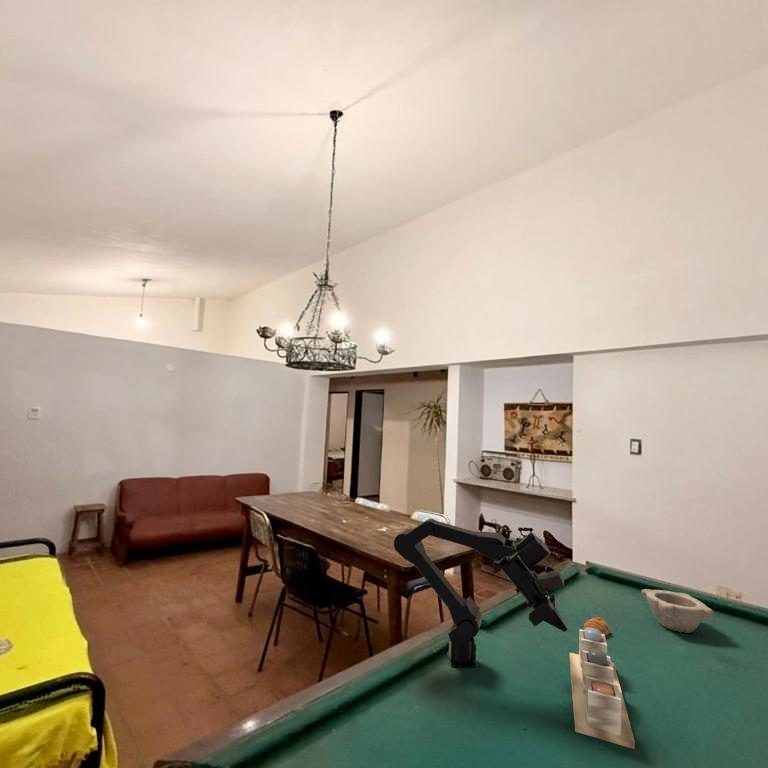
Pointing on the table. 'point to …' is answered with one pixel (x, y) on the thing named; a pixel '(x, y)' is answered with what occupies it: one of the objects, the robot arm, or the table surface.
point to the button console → (598, 697)
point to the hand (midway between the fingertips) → (566, 630)
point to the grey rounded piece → (597, 657)
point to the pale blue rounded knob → (592, 634)
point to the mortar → (677, 609)
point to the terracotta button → (602, 688)
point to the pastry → (598, 625)
